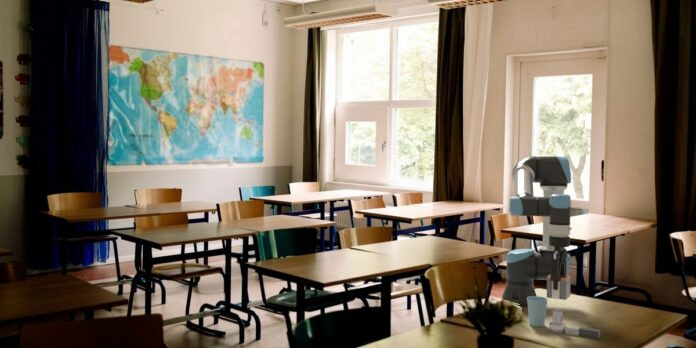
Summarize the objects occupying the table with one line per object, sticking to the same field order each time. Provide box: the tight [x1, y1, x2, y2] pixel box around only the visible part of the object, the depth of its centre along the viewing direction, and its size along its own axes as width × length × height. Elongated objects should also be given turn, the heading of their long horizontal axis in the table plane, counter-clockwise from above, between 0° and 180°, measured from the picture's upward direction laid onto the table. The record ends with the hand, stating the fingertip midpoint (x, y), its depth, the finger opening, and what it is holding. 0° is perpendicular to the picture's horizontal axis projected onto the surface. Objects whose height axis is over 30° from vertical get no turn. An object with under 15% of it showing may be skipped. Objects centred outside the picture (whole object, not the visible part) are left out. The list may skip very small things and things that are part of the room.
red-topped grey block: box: [546, 274, 571, 301], centre depth 255 cm, size 7×7×8 cm
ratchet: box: [548, 308, 601, 340], centre depth 253 cm, size 18×6×8 cm, turn 59°
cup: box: [527, 295, 548, 328], centre depth 265 cm, size 8×8×10 cm
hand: (558, 296), depth 255 cm, fingers closed on red-topped grey block, 7 cm apart
